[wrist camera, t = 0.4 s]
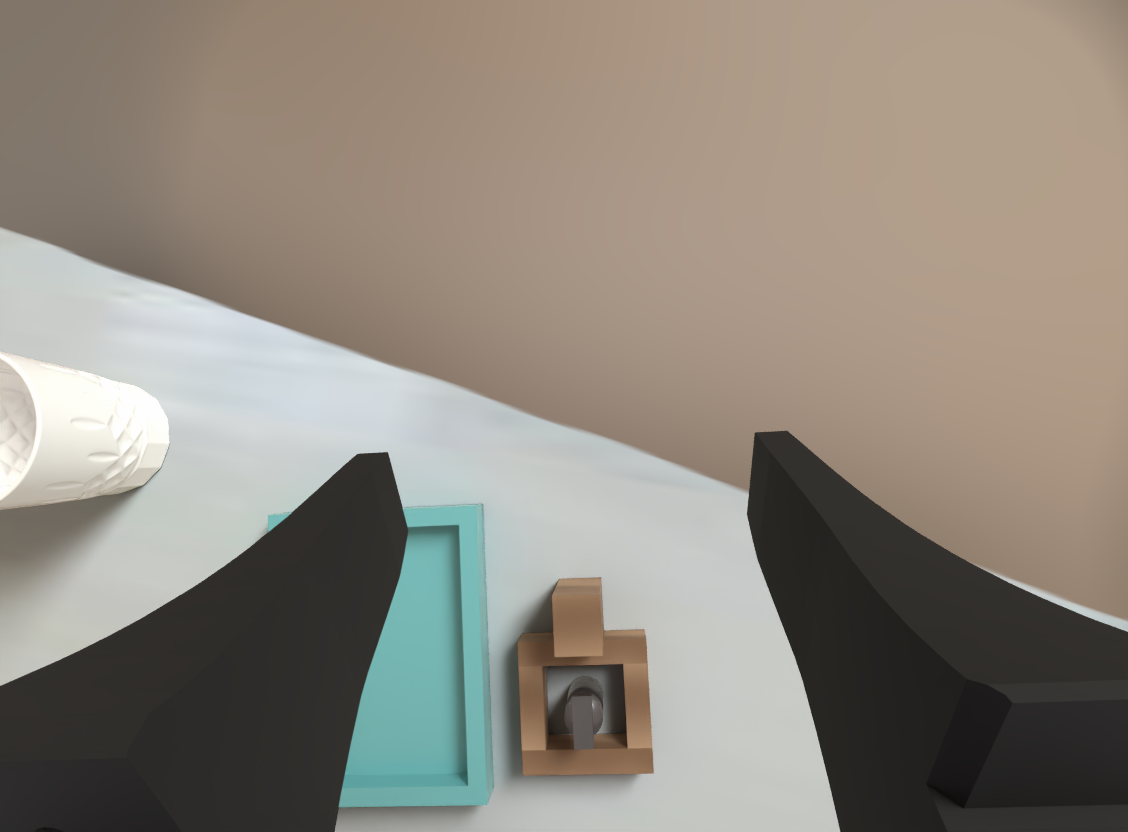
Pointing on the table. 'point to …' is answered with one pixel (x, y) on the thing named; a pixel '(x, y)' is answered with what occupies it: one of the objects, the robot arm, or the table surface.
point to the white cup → (73, 434)
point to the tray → (428, 674)
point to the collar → (583, 644)
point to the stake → (584, 711)
